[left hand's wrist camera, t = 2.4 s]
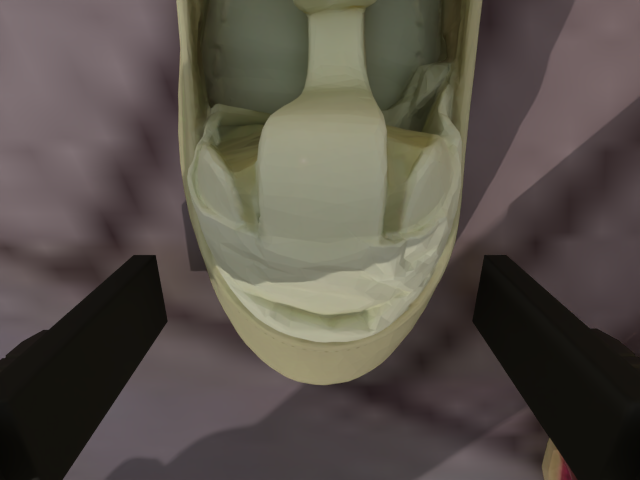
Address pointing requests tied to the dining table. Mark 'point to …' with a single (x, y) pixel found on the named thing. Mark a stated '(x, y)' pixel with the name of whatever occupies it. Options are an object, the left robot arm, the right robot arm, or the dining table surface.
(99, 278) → the dining table surface
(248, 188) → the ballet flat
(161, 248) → the dining table surface
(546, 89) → the dining table surface
